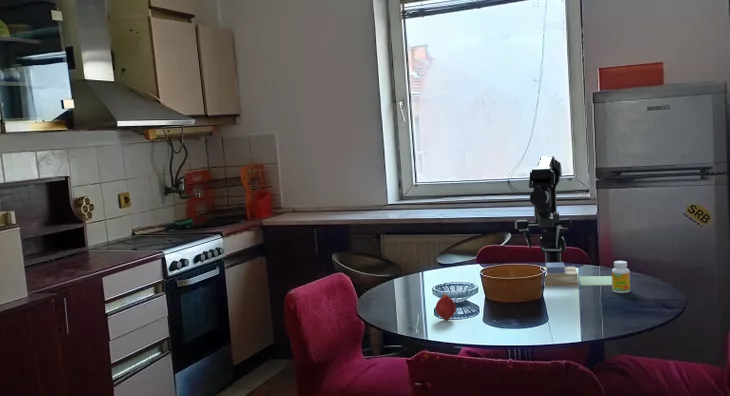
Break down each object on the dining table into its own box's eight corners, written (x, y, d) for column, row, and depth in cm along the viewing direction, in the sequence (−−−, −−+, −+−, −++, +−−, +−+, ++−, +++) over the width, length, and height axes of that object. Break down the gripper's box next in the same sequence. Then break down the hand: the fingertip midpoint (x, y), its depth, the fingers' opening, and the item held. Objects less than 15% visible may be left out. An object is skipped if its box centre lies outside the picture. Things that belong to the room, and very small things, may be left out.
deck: (540, 277, 253) (540, 266, 252) (575, 277, 250) (574, 266, 250) (541, 286, 240) (541, 274, 240) (577, 285, 237) (577, 274, 237)
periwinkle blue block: (546, 268, 249) (546, 262, 249) (563, 268, 248) (563, 262, 248) (546, 273, 242) (546, 267, 241) (564, 272, 240) (564, 267, 240)
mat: (578, 277, 250) (578, 276, 250) (613, 276, 247) (613, 276, 247) (580, 285, 237) (580, 284, 237) (618, 285, 234) (618, 284, 234)
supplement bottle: (612, 293, 225) (612, 263, 224) (612, 289, 230) (611, 260, 229) (630, 293, 223) (629, 263, 222) (629, 289, 228) (628, 260, 227)
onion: (443, 316, 210) (442, 290, 209) (460, 318, 206) (458, 292, 206) (432, 321, 206) (431, 294, 205) (449, 324, 202) (448, 297, 201)
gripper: (518, 207, 234) (519, 253, 235) (574, 204, 232) (576, 251, 233) (514, 204, 245) (515, 248, 246) (568, 202, 243) (569, 246, 244)
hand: (543, 248), depth 242 cm, fingers open, 9 cm apart
